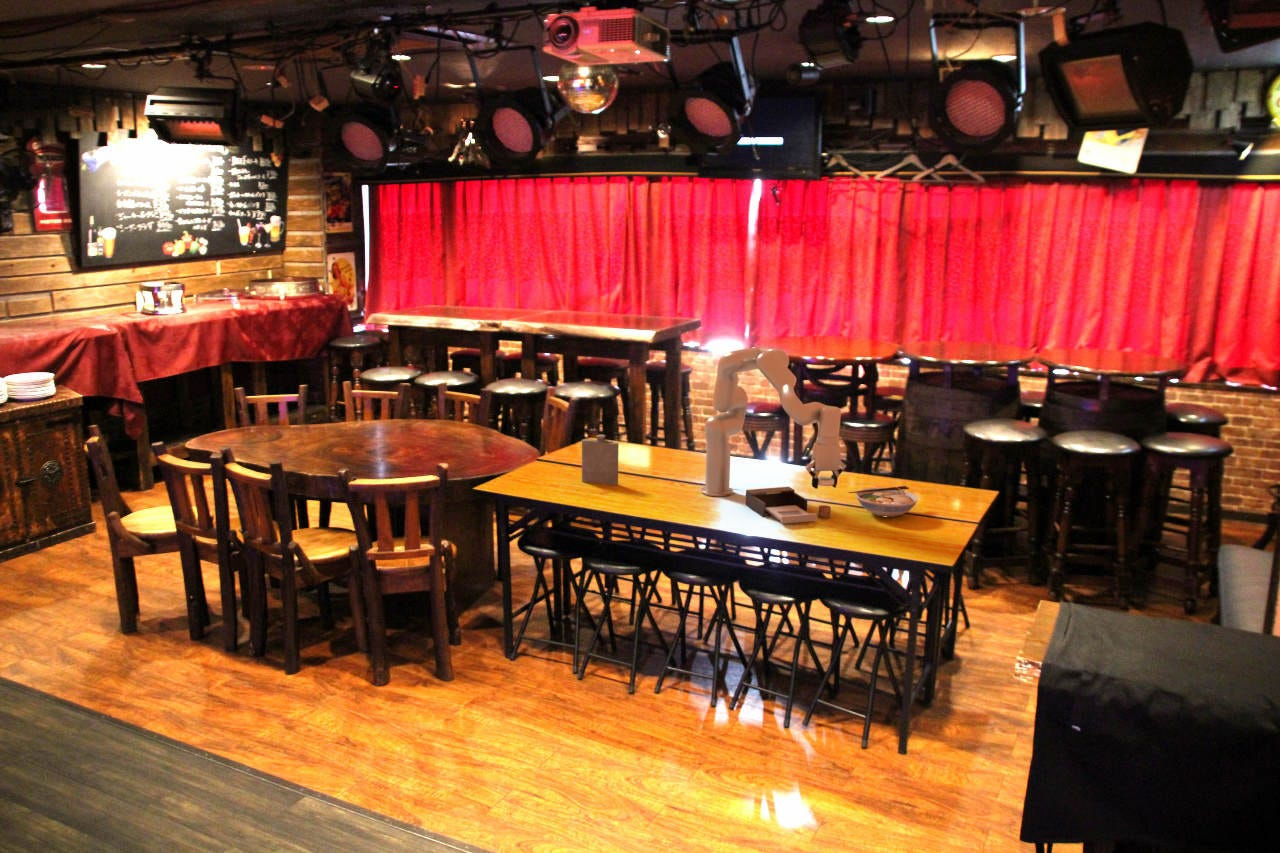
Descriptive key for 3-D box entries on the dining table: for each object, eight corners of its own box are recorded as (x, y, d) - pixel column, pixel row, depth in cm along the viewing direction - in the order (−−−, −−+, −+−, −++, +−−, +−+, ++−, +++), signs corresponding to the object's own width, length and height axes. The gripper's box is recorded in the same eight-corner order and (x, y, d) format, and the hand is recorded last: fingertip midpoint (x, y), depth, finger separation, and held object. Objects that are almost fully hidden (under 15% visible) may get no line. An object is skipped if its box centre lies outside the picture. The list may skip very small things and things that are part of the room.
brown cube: (816, 516, 388) (816, 505, 387) (826, 515, 389) (827, 504, 388) (821, 519, 384) (822, 509, 383) (832, 518, 385) (832, 508, 384)
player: (745, 505, 400) (746, 489, 399) (788, 501, 406) (788, 486, 404) (762, 517, 385) (763, 501, 384) (806, 513, 391) (807, 497, 390)
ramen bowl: (870, 526, 377) (871, 504, 375) (841, 508, 398) (842, 487, 396) (931, 521, 384) (933, 500, 382) (899, 503, 405) (901, 483, 403)
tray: (763, 511, 389) (763, 504, 389) (797, 508, 394) (797, 501, 393) (781, 523, 375) (782, 516, 374) (816, 520, 379) (817, 513, 378)
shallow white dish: (811, 480, 386) (811, 476, 386) (828, 479, 388) (828, 475, 388) (820, 486, 380) (820, 482, 379) (837, 485, 382) (837, 481, 382)
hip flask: (580, 481, 429) (580, 434, 425) (584, 479, 433) (584, 432, 429) (616, 486, 424) (616, 438, 419) (620, 483, 427) (620, 436, 423)
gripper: (844, 436, 386) (840, 482, 391) (801, 438, 381) (798, 485, 385) (854, 441, 379) (850, 488, 384) (811, 443, 374) (807, 491, 378)
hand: (824, 486), depth 384 cm, fingers closed on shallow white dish, 6 cm apart
